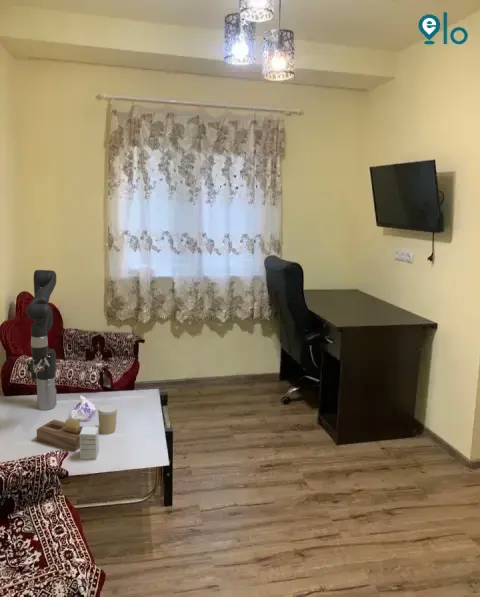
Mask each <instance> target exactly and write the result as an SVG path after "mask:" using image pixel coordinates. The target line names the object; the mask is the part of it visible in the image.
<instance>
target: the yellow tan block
mask: <svg viewBox="0 0 480 597" xmlns="http://www.w3.org/2000/svg"><path fill="white" fill-rule="evenodd" d="M65 422H66V432H68V433H72V434H75V435H78V434H80V426H81V425H80V424H81V423H80V422H81V421H80V420H77V419H74V418H69V417H68V418H67V419H66V420H65Z"/></svg>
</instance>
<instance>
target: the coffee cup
mask: <svg viewBox="0 0 480 597" xmlns="http://www.w3.org/2000/svg"><path fill="white" fill-rule="evenodd" d="M97 414H98V416H97V418H98V427H99V433H100V434H103V435H111V434H113V433H115V432H116V426H117V417H118V416H117V414H118V408H117V406H115V405H112V404H111V405H110V404H105V405H101V406H99V407H98V409H97Z"/></svg>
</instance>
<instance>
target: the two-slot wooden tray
mask: <svg viewBox="0 0 480 597" xmlns="http://www.w3.org/2000/svg"><path fill="white" fill-rule="evenodd" d="M83 427H84V426H81V425H80V432H81V430H82V428H83ZM36 441H37V442H39V443H43V444H47V445H50V446H54V447H57V448H61V449H65V450H66V451H67V450H68V451H72V452H76V451H78V450H80V434H78V435H75V434H72V433H68V432H66V421H60V420H58V419H52V420H51V421H49V422H47V423H45V424H43V425H42V426H40V427H38V428H37V429H36Z"/></svg>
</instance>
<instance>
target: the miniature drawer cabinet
mask: <svg viewBox="0 0 480 597" xmlns="http://www.w3.org/2000/svg"><path fill="white" fill-rule="evenodd" d="M82 427H83V428H82V430H81V432H80V448H79V460H90V461H91V460H97V458H98V455H99V452H100V451H99V450H100V447H99V446H100V444H99V443H100V439H99V438H100V436H99V433H100V430H99V426H82Z"/></svg>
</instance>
